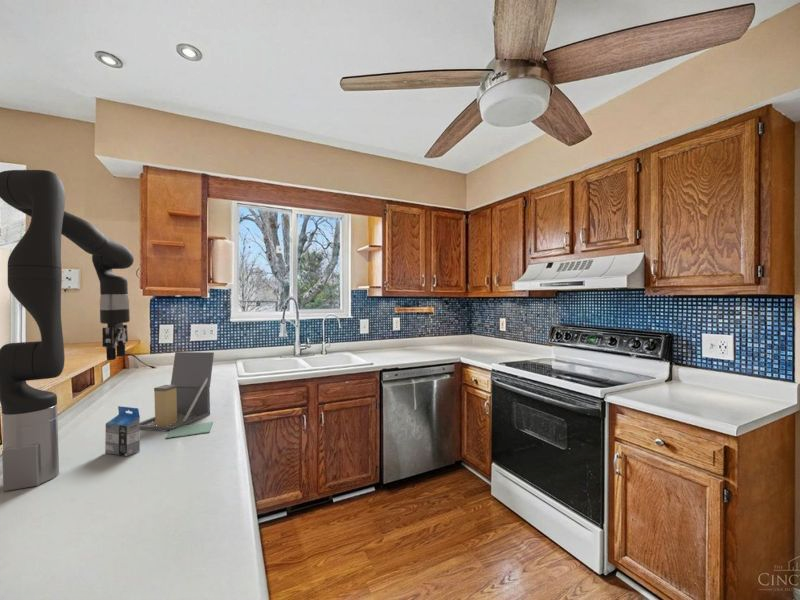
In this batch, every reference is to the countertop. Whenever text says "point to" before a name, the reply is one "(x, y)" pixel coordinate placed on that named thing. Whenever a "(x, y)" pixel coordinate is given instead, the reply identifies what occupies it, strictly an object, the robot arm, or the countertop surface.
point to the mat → (191, 430)
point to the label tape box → (123, 432)
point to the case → (189, 387)
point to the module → (165, 405)
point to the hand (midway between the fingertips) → (116, 357)
